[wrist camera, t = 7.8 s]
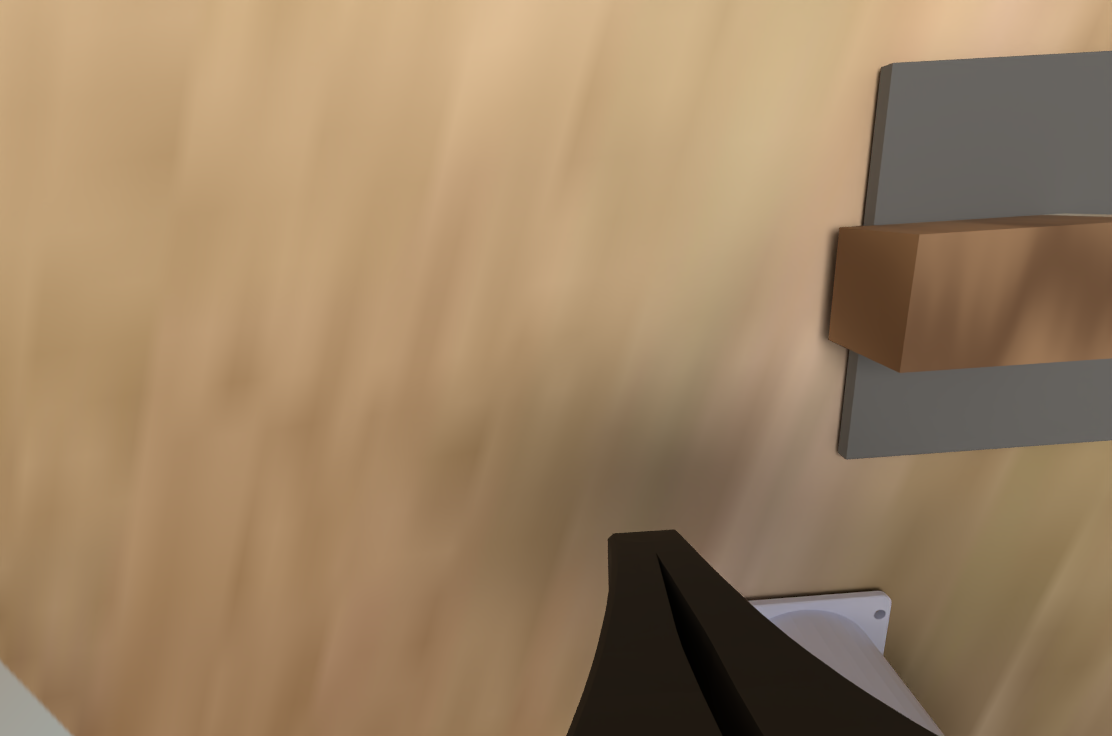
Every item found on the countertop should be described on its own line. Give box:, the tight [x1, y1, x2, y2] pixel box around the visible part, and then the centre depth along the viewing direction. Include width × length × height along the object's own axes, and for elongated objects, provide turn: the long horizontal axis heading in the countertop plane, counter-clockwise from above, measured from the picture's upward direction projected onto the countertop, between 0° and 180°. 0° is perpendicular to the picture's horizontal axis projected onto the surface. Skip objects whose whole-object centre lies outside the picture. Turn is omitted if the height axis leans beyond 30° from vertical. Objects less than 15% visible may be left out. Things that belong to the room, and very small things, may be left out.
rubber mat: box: [838, 51, 1112, 459], centre depth 20 cm, size 14×16×1 cm
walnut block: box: [828, 213, 1112, 373], centre depth 17 cm, size 4×4×8 cm
